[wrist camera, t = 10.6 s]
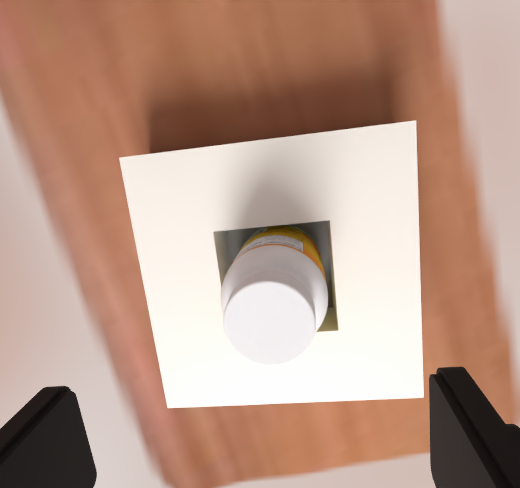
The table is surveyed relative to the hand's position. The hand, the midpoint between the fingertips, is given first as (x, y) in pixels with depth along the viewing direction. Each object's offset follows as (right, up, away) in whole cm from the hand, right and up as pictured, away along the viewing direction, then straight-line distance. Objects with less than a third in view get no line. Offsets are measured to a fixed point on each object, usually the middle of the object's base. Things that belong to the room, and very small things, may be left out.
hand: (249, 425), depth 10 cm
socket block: (+2, +4, +17) cm, 17 cm away
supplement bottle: (+2, +4, +16) cm, 16 cm away
